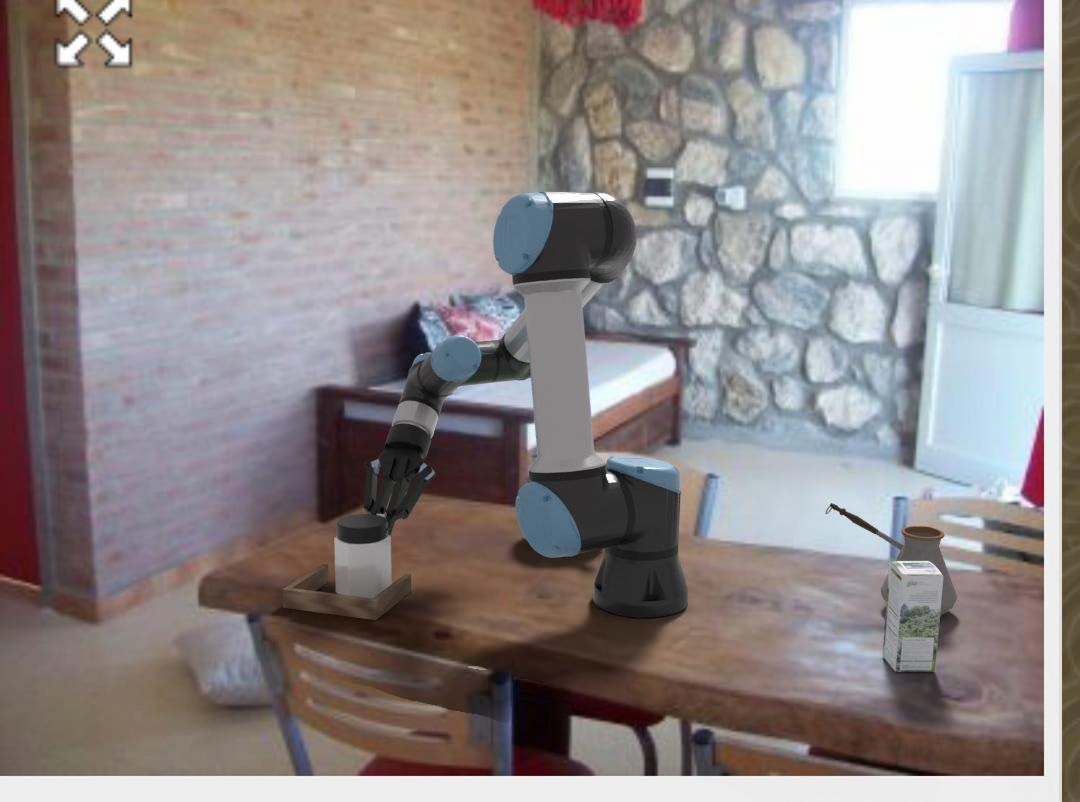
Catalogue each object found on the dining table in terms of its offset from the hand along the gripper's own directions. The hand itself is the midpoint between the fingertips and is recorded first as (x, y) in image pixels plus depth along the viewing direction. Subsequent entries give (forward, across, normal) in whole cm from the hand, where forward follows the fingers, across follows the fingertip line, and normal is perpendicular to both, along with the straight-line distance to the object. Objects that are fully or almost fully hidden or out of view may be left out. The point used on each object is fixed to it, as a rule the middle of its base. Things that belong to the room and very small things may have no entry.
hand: (372, 552), depth 197 cm
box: (+10, 0, +2) cm, 10 cm away
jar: (+7, -1, 0) cm, 7 cm away
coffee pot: (-8, -82, -16) cm, 84 cm away
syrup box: (+9, -85, +1) cm, 86 cm away
